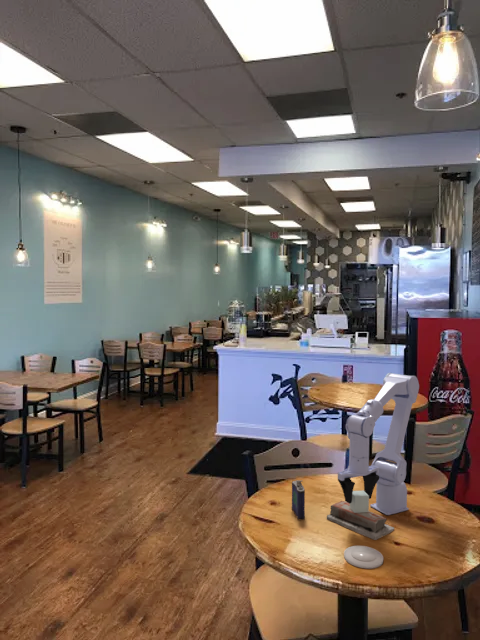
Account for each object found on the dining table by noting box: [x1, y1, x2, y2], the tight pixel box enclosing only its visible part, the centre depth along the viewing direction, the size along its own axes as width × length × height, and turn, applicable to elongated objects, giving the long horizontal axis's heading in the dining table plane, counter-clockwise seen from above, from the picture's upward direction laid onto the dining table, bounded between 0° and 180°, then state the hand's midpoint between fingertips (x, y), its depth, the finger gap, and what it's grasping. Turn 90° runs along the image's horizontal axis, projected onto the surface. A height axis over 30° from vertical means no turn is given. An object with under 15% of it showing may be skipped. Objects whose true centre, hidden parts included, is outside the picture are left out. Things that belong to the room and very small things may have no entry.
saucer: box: [343, 545, 384, 570], centre depth 128 cm, size 10×10×1 cm
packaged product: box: [326, 500, 395, 541], centre depth 148 cm, size 18×5×10 cm
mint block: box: [350, 489, 370, 513], centre depth 148 cm, size 4×4×5 cm
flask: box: [291, 479, 306, 521], centre depth 155 cm, size 9×3×11 cm, turn 8°
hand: (358, 499), depth 148 cm, fingers open, 7 cm apart
